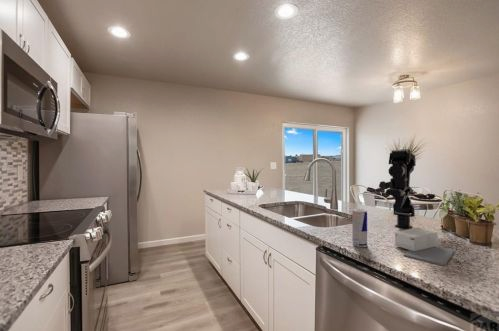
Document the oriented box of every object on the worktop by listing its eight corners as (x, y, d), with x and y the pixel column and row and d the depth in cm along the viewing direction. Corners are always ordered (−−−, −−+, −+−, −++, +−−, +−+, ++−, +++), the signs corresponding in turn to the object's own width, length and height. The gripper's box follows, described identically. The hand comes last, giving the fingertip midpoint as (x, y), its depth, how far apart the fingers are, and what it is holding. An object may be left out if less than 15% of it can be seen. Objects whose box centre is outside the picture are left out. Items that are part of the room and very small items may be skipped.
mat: (417, 244, 102) (417, 242, 102) (454, 252, 93) (454, 250, 93) (403, 256, 90) (403, 254, 90) (444, 266, 81) (444, 264, 81)
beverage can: (366, 248, 98) (366, 211, 97) (351, 246, 101) (351, 210, 100) (368, 244, 102) (367, 209, 102) (353, 242, 105) (353, 208, 105)
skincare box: (418, 240, 106) (393, 245, 100) (417, 226, 105) (393, 231, 100) (439, 246, 98) (414, 252, 92) (438, 231, 98) (413, 236, 92)
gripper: (387, 174, 129) (387, 204, 129) (374, 176, 116) (374, 209, 117) (412, 175, 121) (412, 206, 121) (400, 177, 108) (400, 212, 109)
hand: (399, 208), depth 117 cm, fingers closed
